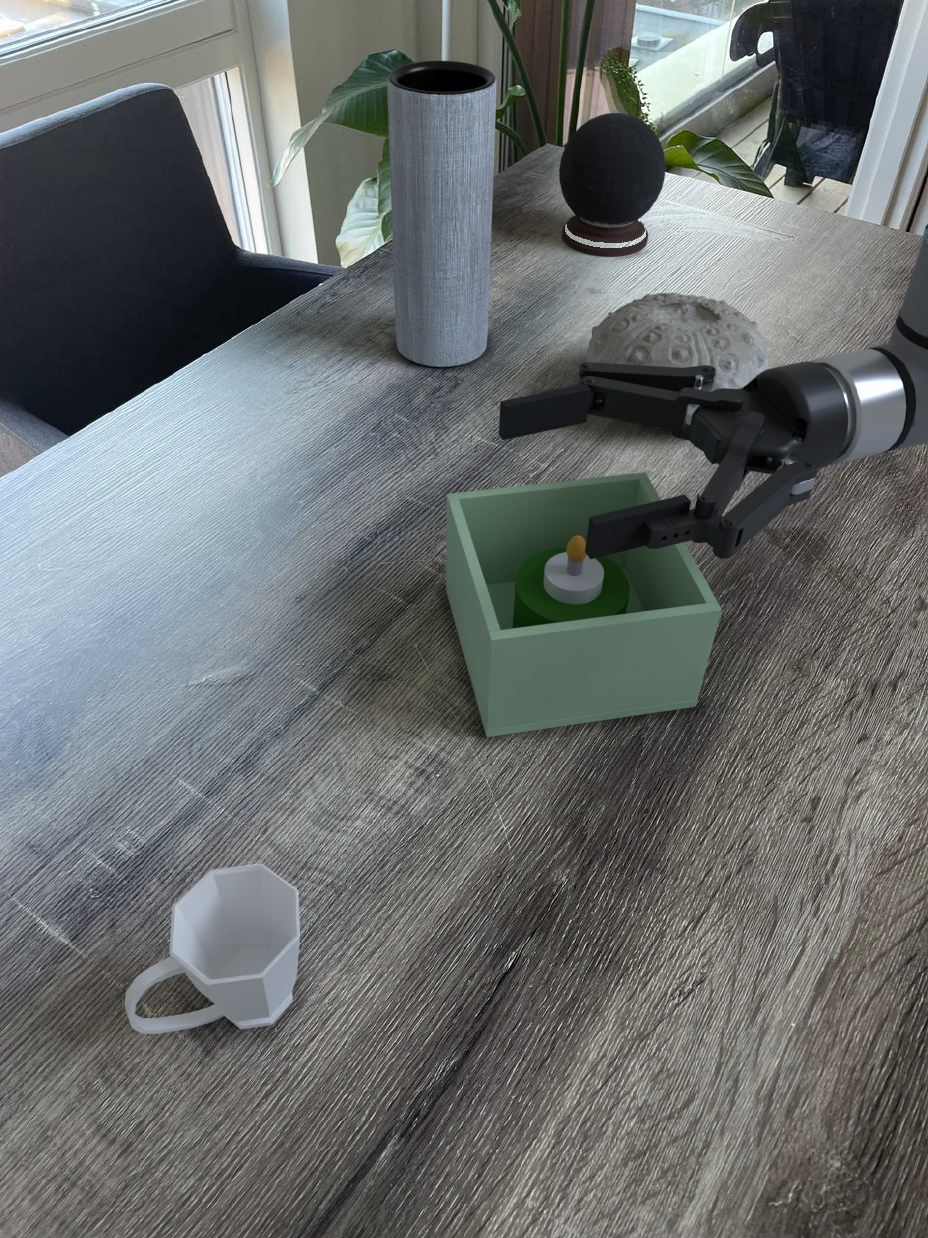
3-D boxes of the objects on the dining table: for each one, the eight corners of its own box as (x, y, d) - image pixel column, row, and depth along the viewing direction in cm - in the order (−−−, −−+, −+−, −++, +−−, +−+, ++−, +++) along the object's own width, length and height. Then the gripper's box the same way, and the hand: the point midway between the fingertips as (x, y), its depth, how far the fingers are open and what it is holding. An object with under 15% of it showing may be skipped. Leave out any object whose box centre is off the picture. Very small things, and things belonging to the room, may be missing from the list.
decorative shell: (562, 364, 107) (570, 274, 100) (717, 349, 110) (736, 261, 103) (613, 459, 95) (627, 364, 88) (787, 439, 98) (814, 347, 91)
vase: (468, 317, 114) (473, 55, 96) (500, 359, 108) (513, 86, 89) (384, 331, 112) (373, 64, 93) (413, 375, 105) (406, 97, 86)
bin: (695, 707, 73) (722, 609, 66) (486, 737, 70) (491, 640, 63) (629, 567, 84) (645, 471, 77) (446, 590, 81) (446, 493, 74)
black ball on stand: (603, 209, 137) (616, 90, 127) (676, 241, 130) (696, 118, 120) (533, 234, 131) (540, 111, 120) (605, 269, 124) (620, 142, 113)
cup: (338, 1013, 56) (327, 943, 50) (166, 1109, 52) (132, 1044, 47) (287, 915, 60) (271, 840, 55) (124, 997, 56) (89, 925, 51)
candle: (539, 588, 80) (548, 487, 73) (636, 622, 78) (655, 521, 71) (493, 653, 75) (498, 551, 68) (595, 692, 72) (611, 591, 65)
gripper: (918, 563, 64) (626, 645, 59) (713, 374, 81) (470, 424, 75) (960, 467, 59) (644, 547, 53) (731, 287, 76) (472, 333, 70)
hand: (541, 475), depth 64 cm, fingers open, 13 cm apart
